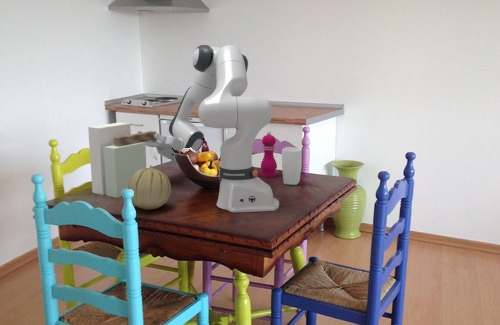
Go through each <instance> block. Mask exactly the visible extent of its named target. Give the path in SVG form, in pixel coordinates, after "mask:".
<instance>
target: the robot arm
mask: <svg viewBox="0 0 500 325" xmlns="http://www.w3.org/2000/svg"><path fill="white" fill-rule="evenodd" d="M192 65H193V68H194V69H195V70H196V71H197V72H196V74H195V78H194V81H193V84H192V85H191V86H190V87H189V88H188V89H187V90H186V91H185V93H184V95H183V96H182V100H181V101H180V104H179V106H178V109H177V111H176V112H175V115H174V116H173V118H172V120H171V121H170V123H169V127H168V133H169V134H170V135H162V134H159V133H157V132H156V133H154V135H153V137H154V138H156V140H151V141H146V142H145V146H146V147H150V148H156V151H157V153H158V154H159V155H160V156H162V157H163V158H166V159H168V160H170V161H171V162H173V163H175V164H177V162H176V160H175V156H174V152H173V150H172V148H173V149H174V150H177V151H178V150H182V149H183V148H190V147H191V148H192V149H193V150H195V151H197V152H198V151H199V150H200V149H201V148H202V146H203V145H202V140H203V138H204V139H205V135H204V133H203V132H202V131H201V130H200V129H199V128H198V127H196V126H195V125H194V124H193V123H192V122H191V120H190V118H191V114H192V112H193V109H194V107H196V104H199V105H198V106H199V107H198V109H197V110H198V111H197V113H198V114H197V115H198V119H199V121H200V122H201V124H202V125H203V126H204V127H208V128H213V129H237V131H236V133H235V134H234V135H233V136H231V137H229V138H227V139H225V140H224V141H223V142H222V143H221V146H220V149H219V151H220V154H219V156H220V166H219V170H218V178H219V183H220V184H219V193H218V199H217V202H216V206H217V207H218V208H220V209H222V210H226V211H229V212H230V213H249V212H250V213H251V212H252V213H253V212H270V211H271V212H274V211H276V210H278V209H279V208H280V201H279V199H278V198H275V197H274V193H273V190H272V187H271V186H270V184H268V183H266V182H265V181H263V180H262V179H261V178H259V177H258V174H259V171H258V168H257V167H255V166H253V165H252V164H253V162H252V160H253V146H254V143H255V140H256V138H257V135H258V134H259V133H260V131H261V130H263V128H264V127H265V126H267V125H269V123H270V122H271V120H272V117H273V113H274V112H273V106H272V104H271V102H270V100H269V99H268V98H266V97H261V96H255V95H247V96H246V95H243V94H244V93H245V92H246V90H247V89H248V86H249V84H248V76H247V73H248V72H247V71H248V67H249V61H248V58H247V56H246V55H245V54H242V52H241V50H240V49H239V48H238V46H235V45H233V44H227V45H223V46H222V47H218V46H210V45H208V44H201V45H199V46H196V48H195V50H194V52H193V55H192ZM138 133H143V132H142V131H139V130H138V131H136V134H138Z"/></svg>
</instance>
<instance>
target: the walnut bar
mask: <svg viewBox="0 0 500 325" xmlns="http://www.w3.org/2000/svg"><path fill="white" fill-rule="evenodd" d="M154 133H157V131H155V130H154V131H151V130H150V131H145V132H142V133H138V134H137V133H133V134H131V135H127V136H121V137H115V138H114V144H115V146H118V147H121V146H126V145H131V144H136V143H141V142H146V141H151V140H156V138H154V137H153V135H154Z"/></svg>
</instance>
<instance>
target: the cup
mask: <svg viewBox="0 0 500 325" xmlns="http://www.w3.org/2000/svg"><path fill="white" fill-rule="evenodd" d="M302 150H303V148H302V147H291V146H290V147H289V146H288V147H287V146H286V147H284V148H282V150H281V168H282V169H281V170H282V179H283V180H282V182H283V184H284V185H286V186H297V185H298V184H299V183H300V179H301V172H302V158H303V156H302V153H303V152H302Z"/></svg>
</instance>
